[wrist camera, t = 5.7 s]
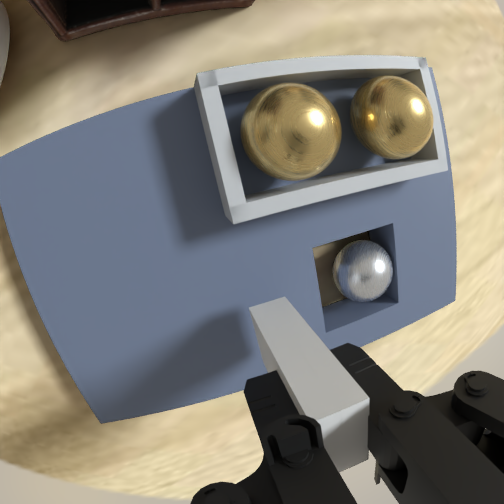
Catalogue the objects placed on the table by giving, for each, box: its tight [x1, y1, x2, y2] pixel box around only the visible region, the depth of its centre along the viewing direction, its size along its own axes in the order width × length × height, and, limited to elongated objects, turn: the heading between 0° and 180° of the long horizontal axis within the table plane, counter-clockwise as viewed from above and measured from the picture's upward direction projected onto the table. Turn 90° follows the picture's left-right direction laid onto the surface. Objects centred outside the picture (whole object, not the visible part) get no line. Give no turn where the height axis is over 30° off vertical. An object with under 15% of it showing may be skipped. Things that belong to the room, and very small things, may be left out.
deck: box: [0, 55, 456, 423], centre depth 14 cm, size 22×14×4 cm, turn 104°
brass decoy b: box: [350, 75, 434, 159], centre depth 12 cm, size 4×4×4 cm
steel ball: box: [333, 240, 393, 302], centre depth 16 cm, size 3×3×3 cm
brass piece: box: [240, 82, 342, 181], centre depth 11 cm, size 4×4×4 cm
